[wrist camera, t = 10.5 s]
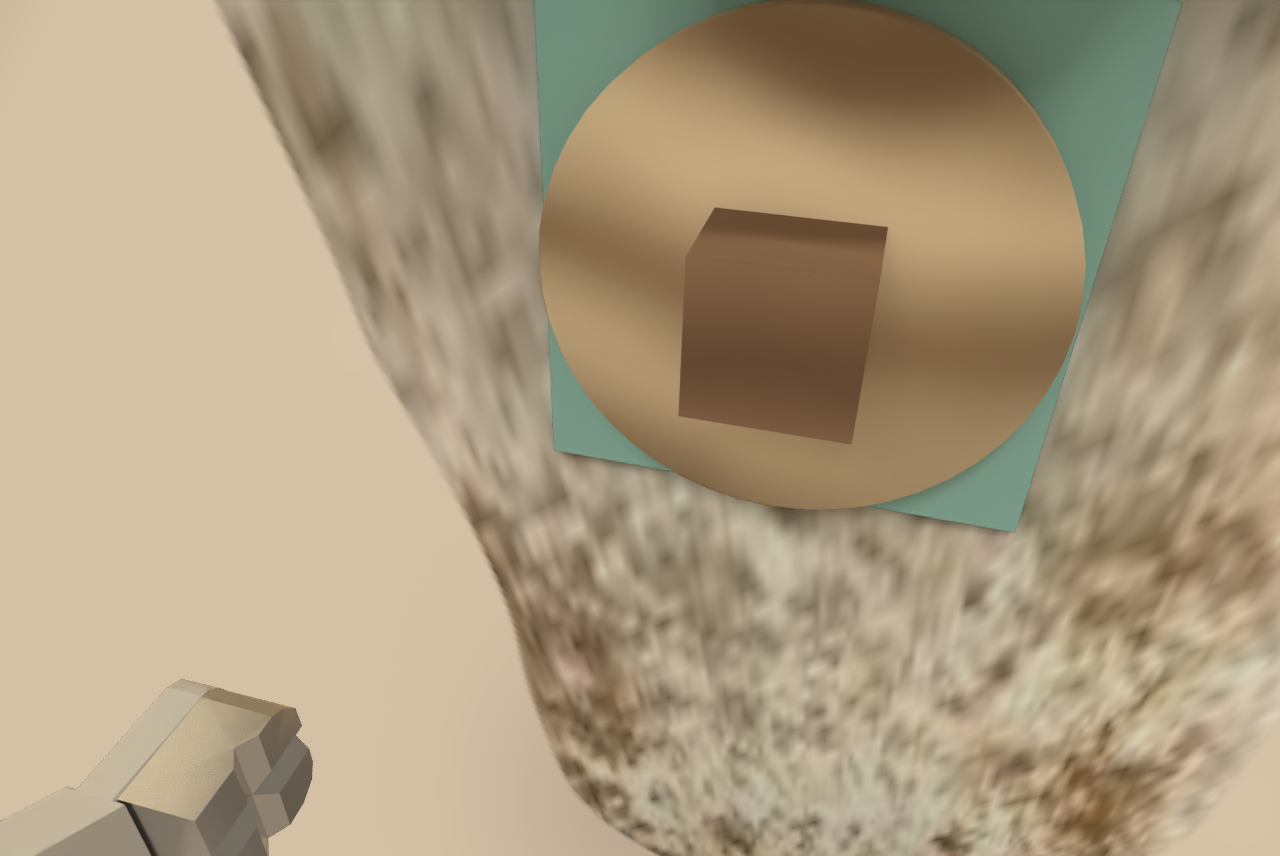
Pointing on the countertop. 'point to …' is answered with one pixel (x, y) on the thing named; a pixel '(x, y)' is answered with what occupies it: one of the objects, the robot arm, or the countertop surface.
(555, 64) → the rubber mat
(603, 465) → the countertop surface
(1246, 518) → the countertop surface
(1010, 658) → the countertop surface
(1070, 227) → the oak lid
